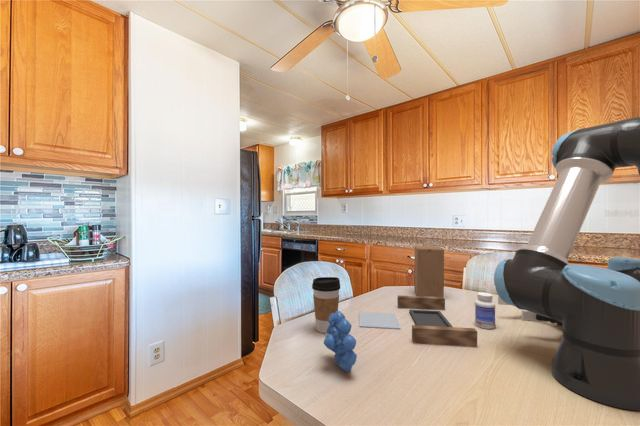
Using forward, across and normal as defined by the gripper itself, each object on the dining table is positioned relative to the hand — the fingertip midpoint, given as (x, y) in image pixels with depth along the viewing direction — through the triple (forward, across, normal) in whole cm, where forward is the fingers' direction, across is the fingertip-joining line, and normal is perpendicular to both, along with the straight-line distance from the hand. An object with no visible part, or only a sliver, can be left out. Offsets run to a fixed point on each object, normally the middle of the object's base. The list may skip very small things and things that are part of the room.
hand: (509, 307), depth 87 cm
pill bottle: (+7, 0, -6) cm, 9 cm away
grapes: (+50, -29, -6) cm, 58 cm away
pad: (+39, 0, -6) cm, 40 cm away
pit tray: (+23, 0, -6) cm, 24 cm away
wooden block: (+17, +29, -6) cm, 34 cm away
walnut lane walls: (+23, 0, -6) cm, 24 cm away
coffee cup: (+55, -9, -6) cm, 56 cm away
